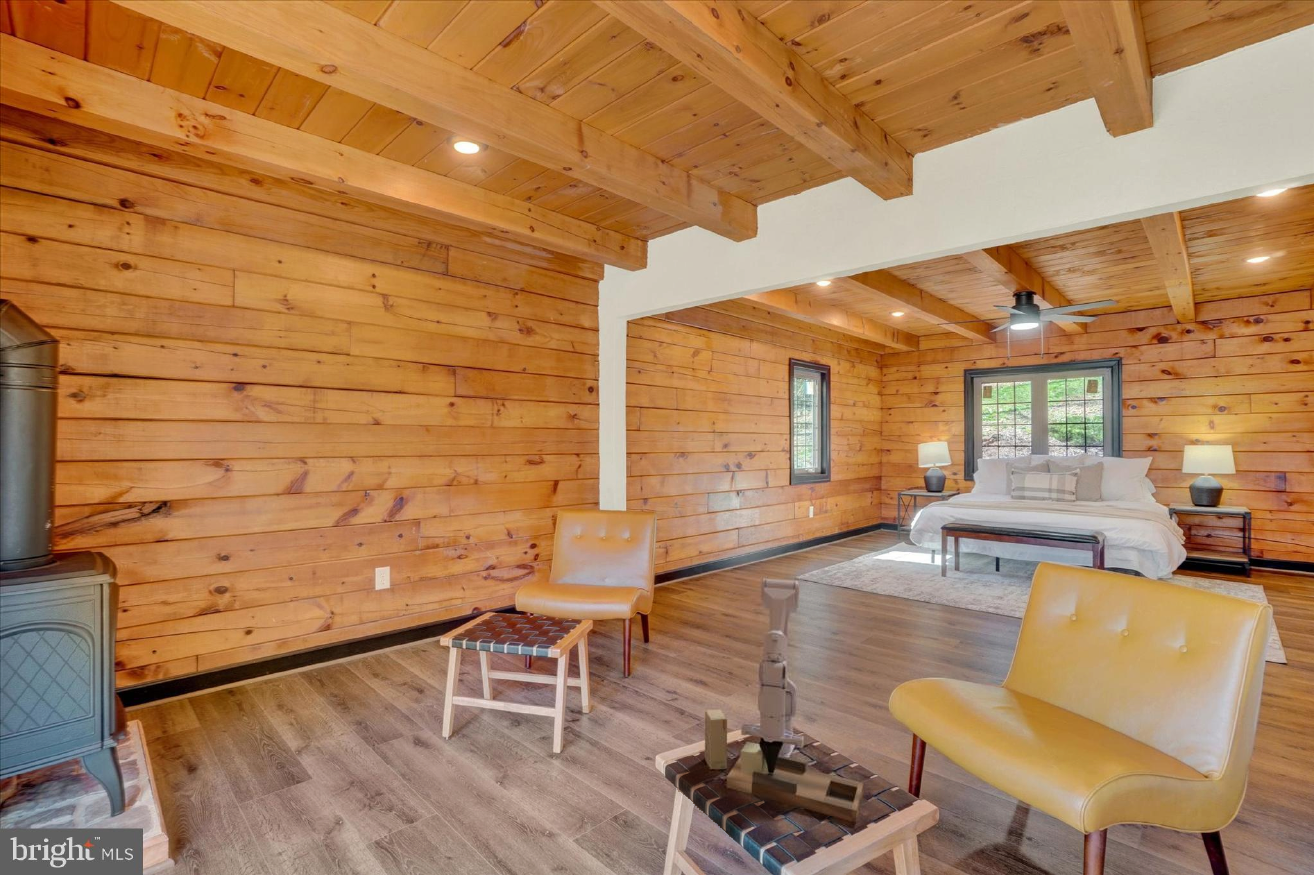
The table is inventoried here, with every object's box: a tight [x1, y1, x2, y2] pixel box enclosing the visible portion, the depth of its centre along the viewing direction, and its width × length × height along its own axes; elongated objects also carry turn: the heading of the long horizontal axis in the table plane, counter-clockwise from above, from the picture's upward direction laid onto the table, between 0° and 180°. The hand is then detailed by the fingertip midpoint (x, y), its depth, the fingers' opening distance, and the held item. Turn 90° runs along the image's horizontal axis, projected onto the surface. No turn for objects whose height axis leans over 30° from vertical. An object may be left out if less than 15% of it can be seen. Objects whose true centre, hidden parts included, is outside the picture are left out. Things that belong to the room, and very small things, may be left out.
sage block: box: [740, 741, 767, 775], centre depth 145 cm, size 5×5×5 cm
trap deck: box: [726, 755, 865, 823], centre depth 141 cm, size 12×29×4 cm, turn 65°
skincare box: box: [704, 709, 728, 770], centre depth 153 cm, size 6×4×12 cm
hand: (771, 770), depth 144 cm, fingers closed
